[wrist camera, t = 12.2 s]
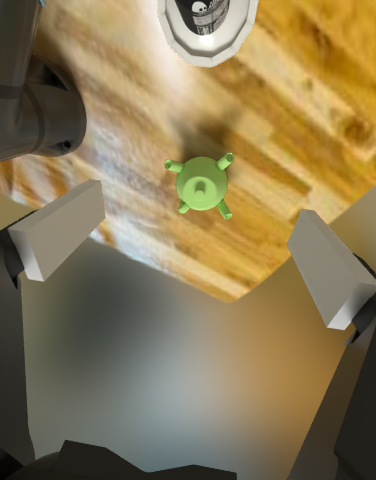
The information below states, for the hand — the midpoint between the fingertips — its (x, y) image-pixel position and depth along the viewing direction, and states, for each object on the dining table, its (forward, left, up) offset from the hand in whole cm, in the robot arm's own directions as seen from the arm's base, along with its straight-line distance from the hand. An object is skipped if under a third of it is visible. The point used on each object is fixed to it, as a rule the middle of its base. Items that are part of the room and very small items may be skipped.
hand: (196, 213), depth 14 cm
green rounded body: (0, -6, -29) cm, 30 cm away
